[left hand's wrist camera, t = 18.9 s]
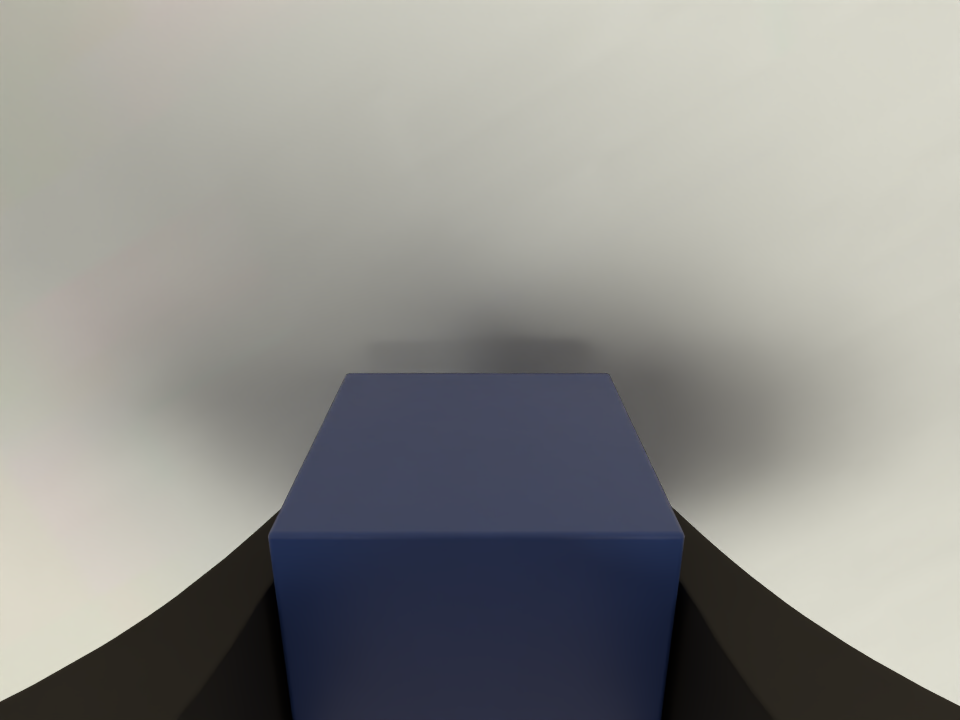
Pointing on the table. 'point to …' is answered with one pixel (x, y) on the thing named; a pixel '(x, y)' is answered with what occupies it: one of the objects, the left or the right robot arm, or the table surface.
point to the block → (476, 554)
